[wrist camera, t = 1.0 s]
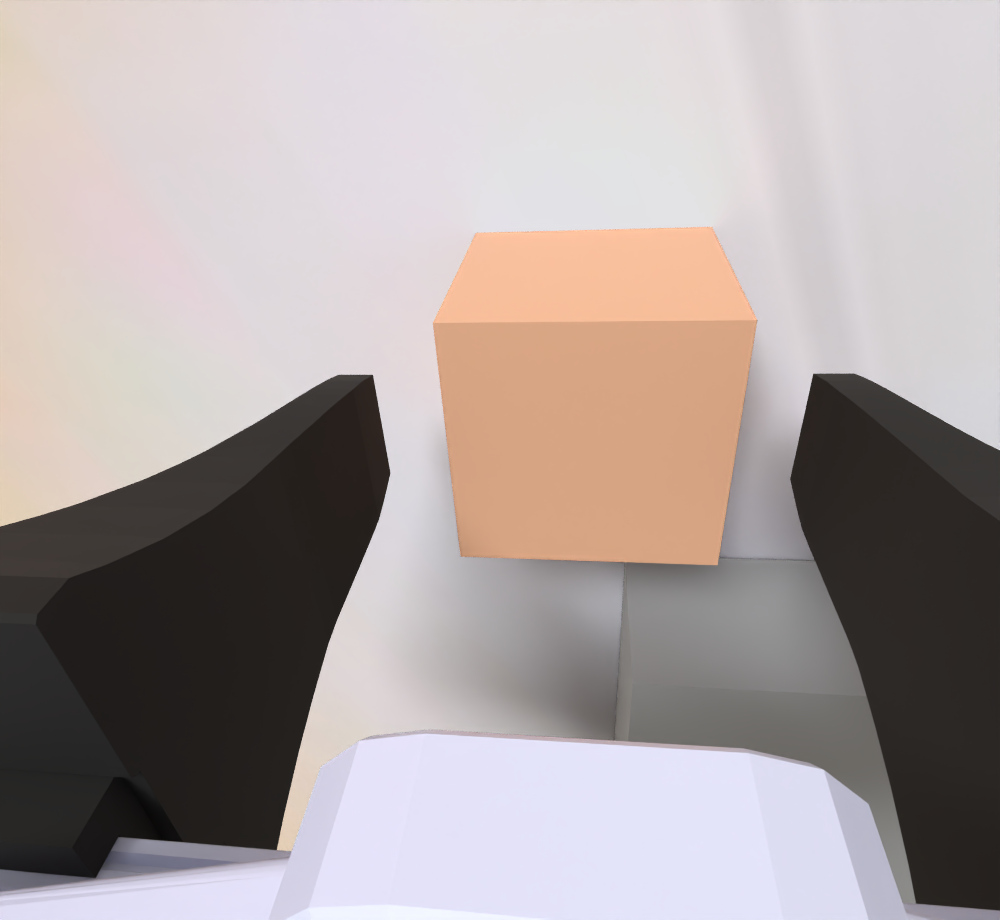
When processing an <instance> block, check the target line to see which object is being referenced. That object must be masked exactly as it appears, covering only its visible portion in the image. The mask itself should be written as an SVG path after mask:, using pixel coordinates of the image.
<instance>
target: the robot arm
mask: <svg viewBox="0 0 1000 920" xmlns="http://www.w3.org/2000/svg"><path fill="white" fill-rule="evenodd" d="M389 477H390V469H389V463H388V457H387V452H386V446H385V441H384V435H383V429H382V424H381V418H380V413H379V407H378V401H377V396H376V390H375V384H374V379H373V375H337V376H335V377H333V378H330V379H328V380H327V381H325V382H323V383H321V384H319V385H317V386H316V387H314V388H312V389H311V390H309V391H307V392H306V393H304V394H302V395H301V396H299V397H298V398H296V399H294V400H293V401H291V402H289V403H288V404H286V405H285V406H283V407H281V408H280V409H278V410H276V411H275V412H273V413H272V414H270V415H268V416H267V417H265V418H263V419H262V420H260V421H258V422H257V423H255V424H253V425H252V426H250V427H248V428H246V429H244V430H243V431H241V432H239V433H237V434H235V435H234V436H232V437H230V438H228V439H227V440H225V441H223V442H221V443H219V444H218V445H216V446H214V447H212V448H210V449H209V450H207V451H205V452H203V453H201V454H199V455H197V456H195V457H193V458H191V459H189V460H187V461H185V462H182V463H180V464H178V465H176V466H174V467H171V468H169V469H167V470H165V471H162V472H160V473H158V474H156V475H153V476H151V477H149V478H146V479H144V480H142V481H139V482H136V483H134V484H131V485H128V486H126V487H123V488H120V489H117V490H115V491H112V492H109V493H106V494H104V495H101V496H98V497H96V498H93V499H90V500H87V501H85V502H82V503H79V504H76V505H73V506H70V507H67V508H63V509H60V510H57V511H54V512H50V513H47V514H44V515H41V516H37V517H34V518H30V519H26V520H23V521H19V522H15V523H12V524H8V525H5V526H1V527H0V920H1000V450H998V449H996V448H994V447H992V446H989V445H987V444H985V443H983V442H982V441H980V440H978V439H976V438H974V437H972V436H970V435H968V434H966V433H964V432H963V431H961V430H959V429H957V428H955V427H953V426H952V425H950V424H948V423H946V422H944V421H943V420H941V419H939V418H937V417H935V416H934V415H932V414H930V413H928V412H926V411H925V410H923V409H921V408H919V407H918V406H916V405H914V404H912V403H911V402H909V401H907V400H905V399H904V398H902V397H900V396H898V395H896V394H895V393H893V392H891V391H889V390H887V389H886V388H884V387H882V386H880V385H878V384H876V383H874V382H872V381H870V380H868V379H866V378H864V377H861V376H859V375H856V374H813V378H812V383H811V387H810V392H809V396H808V401H807V406H806V410H805V415H804V419H803V424H802V428H801V433H800V437H799V442H798V447H797V451H796V456H795V460H794V465H793V469H792V474H791V479H790V480H791V484H792V489H793V493H794V498H795V502H796V507H797V511H798V515H799V518H800V522H801V526H802V530H803V532H804V535H805V537H806V540H807V542H808V545H809V547H810V550H811V552H812V555H813V557H814V560H815V562H816V564H817V567H818V569H819V572H820V574H821V576H822V579H823V581H824V584H825V586H826V588H827V591H828V593H829V595H830V598H831V600H832V603H833V605H834V607H835V610H836V612H837V614H838V617H839V619H840V621H841V624H842V626H843V629H844V631H845V633H846V636H847V638H848V640H849V643H850V646H851V649H852V651H853V654H854V657H855V660H856V662H857V665H858V668H859V671H860V675H861V678H862V682H863V685H864V689H865V692H866V696H867V699H868V703H869V707H870V710H871V714H872V717H873V721H874V724H875V728H876V732H877V736H878V740H879V743H880V747H881V751H882V755H883V759H884V763H885V767H886V771H887V775H888V778H889V782H890V786H891V790H892V795H893V799H894V804H895V808H896V812H897V817H898V821H899V826H900V830H901V834H902V839H903V843H904V848H905V852H906V856H907V861H908V865H909V870H910V876H911V881H912V886H913V891H914V896H915V901H916V904H914V903H902V900H901V897H900V894H899V891H898V888H897V885H896V883H895V880H894V877H893V874H892V871H891V868H890V865H889V862H888V859H887V856H886V853H885V850H884V847H883V845H882V842H881V839H880V836H879V833H878V830H877V827H876V824H875V821H874V818H873V815H872V812H871V810H870V807H869V804H868V803H867V802H865V801H864V800H863V799H861V798H860V797H859V796H857V795H856V794H855V793H854V792H852V791H851V790H850V789H848V788H847V787H846V786H844V785H843V784H842V783H840V782H839V781H838V780H836V779H835V778H834V777H833V776H831V775H830V774H829V773H827V772H826V771H825V770H823V769H821V768H819V767H817V766H815V765H813V764H810V763H807V762H803V761H798V760H794V759H789V758H785V757H780V756H776V755H771V754H767V753H762V752H758V751H753V750H749V749H744V748H728V747H711V746H694V745H678V744H661V743H645V742H628V741H611V740H595V739H578V738H561V737H545V736H528V735H511V734H495V733H478V732H462V731H445V730H421V731H412V732H403V733H394V734H385V735H376V736H370V737H368V738H365V739H362V740H360V741H358V742H357V743H355V744H354V745H352V746H351V747H349V748H348V749H346V750H345V751H343V752H342V753H340V754H339V755H337V756H336V757H335V758H333V759H332V760H330V761H329V762H327V763H326V764H324V765H323V766H321V768H320V771H319V774H318V777H317V779H316V782H315V785H314V788H313V791H312V794H311V797H310V800H309V803H308V806H307V809H306V811H305V814H304V817H303V820H302V823H301V826H300V829H299V832H298V835H297V838H296V840H295V843H294V846H293V849H292V851H280V850H277V846H278V841H279V836H280V831H281V826H282V821H283V817H284V812H285V808H286V804H287V799H288V795H289V791H290V787H291V782H292V778H293V774H294V770H295V765H296V761H297V757H298V752H299V748H300V745H301V741H302V737H303V733H304V729H305V726H306V722H307V718H308V714H309V710H310V707H311V703H312V699H313V695H314V692H315V688H316V685H317V681H318V678H319V674H320V671H321V667H322V664H323V661H324V657H325V654H326V650H327V647H328V643H329V641H330V638H331V635H332V632H333V630H334V627H335V624H336V621H337V619H338V616H339V614H340V612H341V609H342V607H343V605H344V602H345V600H346V598H347V595H348V593H349V590H350V588H351V586H352V583H353V581H354V579H355V576H356V574H357V571H358V569H359V567H360V564H361V562H362V560H363V557H364V555H365V553H366V550H367V548H368V545H369V543H370V540H371V538H372V535H373V533H374V531H375V528H376V526H377V523H378V520H379V517H380V513H381V510H382V506H383V502H384V498H385V494H386V490H387V485H388V481H389Z"/></svg>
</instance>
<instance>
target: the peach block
mask: <svg viewBox="0 0 1000 920" xmlns="http://www.w3.org/2000/svg"><path fill="white" fill-rule="evenodd" d="M756 324H757V319H756V317H755V315H754V313H753V311H752V308H751V306H750V304H749V302H748V300H747V298H746V296H745V294H744V292H743V290H742V288H741V286H740V284H739V282H738V280H737V278H736V276H735V273H734V271H733V269H732V267H731V265H730V263H729V261H728V259H727V257H726V255H725V253H724V251H723V249H722V247H721V245H720V243H719V241H718V238H717V236H716V234H715V232H714V230H713V228H712V227H691V228H652V229H612V230H573V231H533V232H493V233H476V234H475V236H474V238H473V240H472V242H471V245H470V247H469V249H468V251H467V253H466V255H465V257H464V259H463V261H462V263H461V265H460V268H459V270H458V272H457V274H456V276H455V278H454V280H453V282H452V284H451V286H450V288H449V290H448V293H447V295H446V297H445V299H444V301H443V303H442V305H441V307H440V309H439V311H438V313H437V316H436V318H435V320H434V322H433V327H434V336H435V344H436V353H437V361H438V370H439V378H440V386H441V395H442V403H443V412H444V420H445V429H446V437H447V446H448V454H449V462H450V471H451V479H452V488H453V496H454V505H455V513H456V522H457V530H458V538H459V547H460V555H461V557H489V558H519V559H548V560H577V561H606V562H635V563H664V564H694V565H718V560H719V553H720V547H721V541H722V535H723V529H724V522H725V516H726V510H727V504H728V498H729V491H730V485H731V479H732V473H733V467H734V461H735V454H736V448H737V442H738V436H739V430H740V423H741V417H742V411H743V405H744V399H745V392H746V386H747V380H748V374H749V368H750V361H751V355H752V349H753V343H754V337H755V331H756Z"/></svg>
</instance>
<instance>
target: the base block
mask: <svg viewBox="0 0 1000 920" xmlns="http://www.w3.org/2000/svg"><path fill="white" fill-rule="evenodd" d="M614 741H628V742H645V743H661V744H678V745H694V746H711V747H728V748H744V749H749V750H753V751H758V752H762V753H767V754H771V755H776V756H780V757H785V758H789V759H794V760H798V761H803V762H807V763H810V764H813V765H815V766H817V767H819V768H821V769H823V770H825V771H826V772H827V773H829V774H830V775H831V776H833V777H834V778H835V779H836V780H838V781H839V782H840V783H842V784H843V785H844V786H846V787H847V788H848V789H850V790H851V791H852V792H854V793H855V794H856V795H857V796H859V797H860V798H861V799H863V800H864V801H865V802H867V803H868V804H869V807H870V810H871V812H872V815H873V818H874V821H875V824H876V827H877V830H878V833H879V836H880V839H881V842H882V845H883V847H884V850H885V853H886V856H887V859H888V862H889V865H890V868H891V871H892V874H893V877H894V880H895V883H896V885H897V888H898V891H899V894H900V897H901V900H902V903H914V904H916V901H915V896H914V891H913V886H912V881H911V876H910V870H909V865H908V861H907V856H906V852H905V848H904V843H903V839H902V834H901V830H900V826H899V821H898V817H897V812H896V808H895V804H894V799H893V795H892V790H891V786H890V782H889V778H888V775H887V771H886V767H885V763H884V759H883V755H882V751H881V747H880V743H879V740H878V736H877V732H876V728H875V724H874V721H873V717H872V714H871V710H870V707H869V703H868V699H867V696H866V692H865V689H864V685H863V682H862V678H861V675H860V671H859V668H858V665H857V662H856V660H855V657H854V654H853V651H852V649H851V646H850V643H849V640H848V638H847V636H846V633H845V631H844V629H843V626H842V624H841V621H840V619H839V617H838V614H837V612H836V610H835V607H834V605H833V603H832V600H831V598H830V595H829V593H828V591H827V588H826V586H825V584H824V581H823V579H822V576H821V574H820V572H819V569H818V567H817V564H816V562H815V561H801V560H770V559H738V558H719V560H718V565H694V564H664V563H635V562H625V568H624V584H623V601H622V618H621V635H620V652H619V669H618V686H617V703H616V720H615V737H614Z"/></svg>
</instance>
